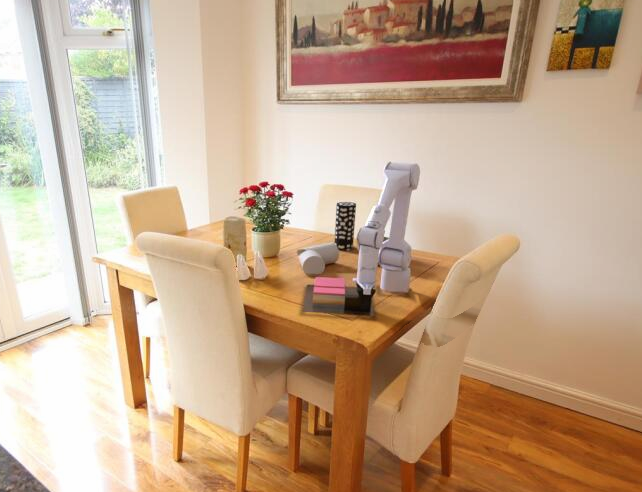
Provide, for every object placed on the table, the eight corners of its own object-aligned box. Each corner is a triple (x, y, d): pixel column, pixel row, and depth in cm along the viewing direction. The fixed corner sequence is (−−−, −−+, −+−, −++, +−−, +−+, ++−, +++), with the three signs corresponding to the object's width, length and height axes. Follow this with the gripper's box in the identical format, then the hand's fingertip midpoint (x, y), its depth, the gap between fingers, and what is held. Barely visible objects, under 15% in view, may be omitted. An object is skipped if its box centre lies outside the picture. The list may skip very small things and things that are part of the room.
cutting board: (369, 290, 162) (370, 287, 161) (374, 319, 141) (374, 316, 141) (307, 287, 166) (307, 284, 166) (302, 314, 145) (302, 311, 145)
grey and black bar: (370, 308, 146) (371, 295, 144) (370, 311, 143) (371, 298, 142) (312, 305, 149) (313, 292, 147) (312, 308, 147) (312, 295, 145)
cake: (344, 289, 161) (344, 278, 159) (344, 298, 154) (344, 287, 152) (315, 287, 163) (315, 276, 161) (313, 296, 156) (314, 285, 154)
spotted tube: (330, 246, 211) (333, 202, 203) (347, 244, 213) (349, 201, 205) (339, 251, 203) (342, 206, 196) (356, 249, 206) (359, 204, 198)
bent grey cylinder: (290, 257, 194) (296, 274, 175) (296, 233, 189) (303, 248, 171) (331, 265, 195) (341, 282, 177) (338, 241, 191) (349, 256, 173)
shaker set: (268, 277, 176) (268, 249, 172) (268, 281, 173) (268, 253, 168) (237, 276, 178) (236, 249, 173) (236, 280, 174) (235, 252, 169)
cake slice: (344, 299, 152) (344, 288, 151) (344, 305, 148) (345, 293, 147) (313, 297, 154) (314, 286, 153) (312, 303, 150) (313, 292, 149)
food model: (248, 262, 193) (247, 215, 185) (245, 268, 187) (244, 219, 179) (225, 261, 195) (224, 215, 187) (221, 266, 189) (219, 219, 181)
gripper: (353, 258, 146) (350, 297, 152) (354, 273, 133) (351, 316, 139) (376, 258, 145) (372, 298, 150) (379, 275, 132) (375, 317, 137)
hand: (363, 306), depth 145 cm, fingers closed on grey and black bar, 2 cm apart
